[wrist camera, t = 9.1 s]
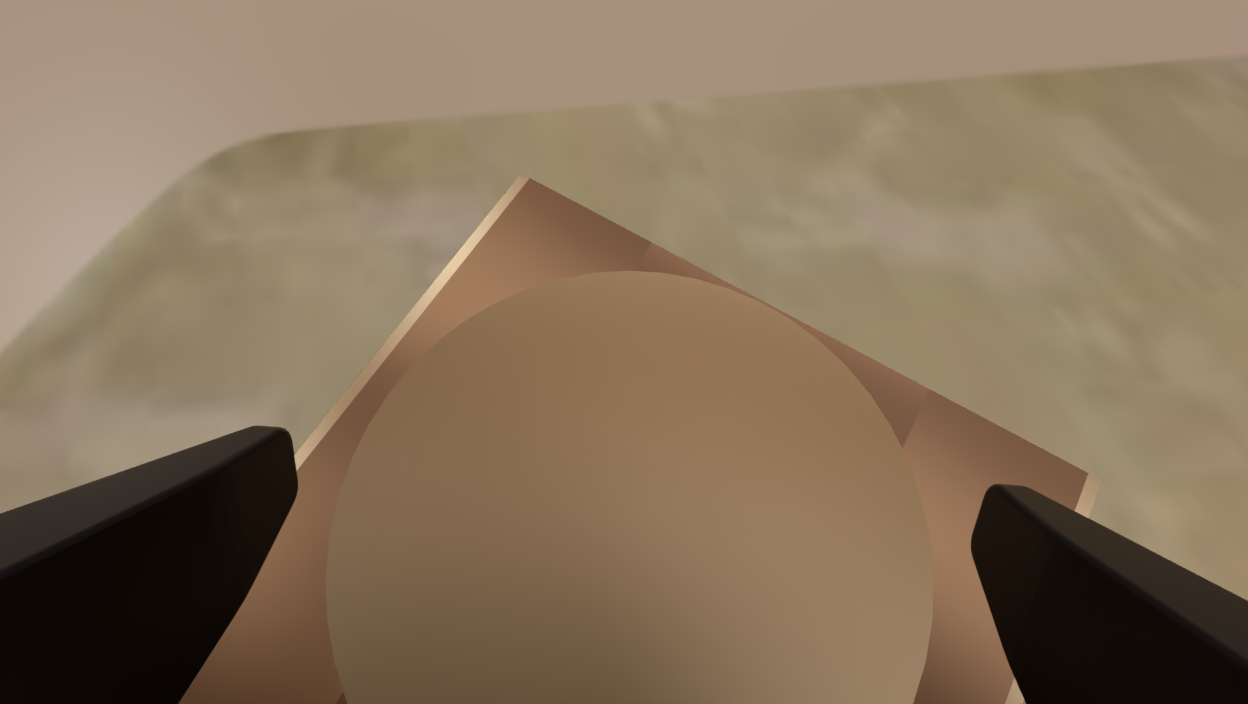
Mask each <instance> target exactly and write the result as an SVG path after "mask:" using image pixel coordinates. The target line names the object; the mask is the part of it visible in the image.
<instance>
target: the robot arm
mask: <svg viewBox="0 0 1248 704" xmlns="http://www.w3.org/2000/svg"><path fill="white" fill-rule="evenodd" d="M297 492H298V477H297V470H296V464H295V457H294V450H293V443H292V439H291V436H290V434H289V432H288V431H287V430H286V429H284V428H281V427H269V426H251V427H248V428H245V429H243V430H240V431H237V432H234V433H231V434H228V435H225V436H222V437H220V438H217V439H214V440H211V441H208V442H205V443H202V444H199V445H197V446H194V447H191V448H188V449H185V450H182V451H179V452H176V453H173V454H171V455H168V456H165V457H162V458H159V459H156V460H153V461H150V462H148V463H145V464H142V465H139V466H136V467H133V468H130V469H127V470H125V471H122V472H119V473H116V474H113V475H110V476H107V477H104V478H101V479H99V480H96V481H93V482H90V483H87V484H84V485H81V486H78V487H76V488H73V489H70V490H67V491H64V492H61V493H58V494H55V495H53V496H50V497H47V498H44V499H41V500H38V501H35V502H32V503H29V504H27V505H24V506H21V507H18V508H15V509H12V510H9V511H6V512H4V513H1V514H0V704H179V702H180V701H181V699H182V698H183V696H184V695H185V693H186V691H187V690H188V688H189V687H190V685H191V684H192V682H193V681H194V679H195V677H196V676H197V674H198V673H199V671H200V670H201V668H202V667H203V665H204V663H205V662H206V660H207V659H208V657H209V656H210V654H211V653H212V651H213V649H214V648H215V646H216V645H217V643H218V642H219V640H220V639H221V637H222V635H223V634H224V632H225V631H226V629H227V628H228V626H229V625H230V623H231V621H232V620H233V618H234V617H235V615H236V613H237V612H238V610H239V608H240V607H241V605H242V604H243V602H244V600H245V598H246V597H247V595H248V593H249V591H250V589H251V587H252V586H253V584H254V582H255V580H256V578H257V576H258V574H259V572H260V570H261V568H262V566H263V564H264V562H265V560H266V558H267V556H268V554H269V552H270V550H271V548H272V546H273V544H274V542H275V540H276V538H277V536H278V534H279V532H280V530H281V528H282V526H283V524H284V522H285V520H286V518H287V516H288V514H289V512H290V510H291V508H292V506H293V504H294V502H295V499H296V496H297ZM971 553H972V558H973V561H974V564H975V567H976V570H977V573H978V576H979V579H980V582H981V585H982V588H983V591H984V594H985V597H986V600H987V603H988V606H989V609H990V611H991V614H992V617H993V620H994V623H995V626H996V629H997V632H998V635H999V638H1000V641H1001V644H1002V647H1003V650H1004V653H1005V655H1006V658H1007V661H1008V663H1009V666H1010V668H1011V671H1012V673H1013V675H1014V678H1015V680H1016V682H1017V685H1018V687H1019V689H1020V691H1021V693H1022V696H1023V698H1024V700H1025V702H1026V704H1248V601H1247V600H1245V599H1243V598H1241V597H1239V596H1237V595H1235V594H1233V593H1231V592H1229V591H1228V590H1226V589H1224V588H1222V587H1220V586H1218V585H1216V584H1214V583H1212V582H1210V581H1208V580H1206V579H1204V578H1203V577H1201V576H1199V575H1197V574H1195V573H1193V572H1191V571H1189V570H1187V569H1185V568H1183V567H1181V566H1179V565H1177V564H1176V563H1174V562H1172V561H1170V560H1168V559H1166V558H1164V557H1162V556H1160V555H1158V554H1156V553H1154V552H1152V551H1150V550H1149V549H1147V548H1145V547H1143V546H1141V545H1139V544H1137V543H1135V542H1133V541H1131V540H1129V539H1127V538H1125V537H1124V536H1122V535H1120V534H1118V533H1116V532H1114V531H1112V530H1110V529H1108V528H1106V527H1104V526H1102V525H1100V524H1098V523H1097V522H1095V521H1093V520H1091V519H1089V518H1087V517H1085V516H1083V515H1081V514H1079V513H1077V512H1075V511H1073V510H1071V509H1070V508H1068V507H1066V506H1064V505H1062V504H1060V503H1058V502H1056V501H1054V500H1052V499H1050V498H1048V497H1046V496H1045V495H1043V494H1041V493H1039V492H1037V491H1035V490H1033V489H1031V488H1029V487H1026V486H1022V485H1010V484H993V485H992V486H990V487H989V488H988V489H987V490H986V492H985V495H984V497H983V501H982V504H981V507H980V510H979V513H978V517H977V520H976V523H975V526H974V529H973V533H972V537H971Z"/></svg>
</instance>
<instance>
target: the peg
mask: <svg viewBox="0 0 1248 704" xmlns="http://www.w3.org/2000/svg"><path fill="white" fill-rule="evenodd" d="M933 587H934V574H933V564H932V554H931V543H930V535H929V530H928V526H927V521H926V517H925V513H924V508H923V504H922V499H921V495H920V493H919V490H918V487H917V484H916V482H915V479H914V476H913V473H912V470H911V468H910V465H909V462H908V459H907V457H906V455H905V453H904V451H903V449H902V447H901V445H900V443H899V441H898V439H897V437H896V435H895V433H894V431H893V429H892V427H891V425H890V424H889V422H888V421H887V419H886V418H885V416H884V415H883V413H882V412H881V410H880V409H879V407H878V405H877V404H876V402H875V401H874V399H873V398H872V396H871V395H870V393H869V392H868V391H867V390H866V389H865V387H864V386H863V385H862V384H861V383H860V382H859V380H858V379H857V378H856V377H855V376H854V374H853V373H852V372H851V371H850V370H849V368H848V367H847V366H846V365H845V364H844V363H843V362H842V361H841V360H840V359H839V358H838V357H836V356H835V355H834V354H833V353H832V352H831V351H830V350H829V349H828V348H827V347H826V346H825V345H824V344H823V343H822V342H820V341H819V340H818V339H817V338H815V337H814V336H813V335H811V334H810V333H809V332H807V331H806V330H804V329H803V328H802V327H800V326H799V325H798V324H796V323H795V322H794V321H792V320H791V319H789V318H788V317H786V316H784V315H782V314H781V313H779V312H777V311H775V310H774V309H772V308H770V307H768V306H767V305H765V304H763V303H761V302H759V301H757V300H755V299H752V298H750V297H748V296H745V295H743V294H741V293H738V292H736V291H734V290H731V289H729V288H726V287H722V286H719V285H716V284H712V283H709V282H706V281H702V280H699V279H695V278H690V277H684V276H678V275H672V274H667V273H658V272H641V271H617V272H599V273H591V274H585V275H579V276H574V277H568V278H562V279H559V280H555V281H552V282H549V283H545V284H542V285H538V286H535V287H532V288H529V289H526V290H524V291H522V292H519V293H517V294H515V295H512V296H510V297H508V298H505V299H503V300H501V301H498V302H496V303H495V304H493V305H491V306H489V307H488V308H486V309H484V310H482V311H481V312H479V313H477V314H475V315H474V316H472V317H470V318H468V319H467V320H466V321H464V322H463V323H461V324H460V325H459V326H457V327H456V328H455V329H453V330H452V331H451V332H449V333H448V334H447V335H445V336H444V337H443V338H441V339H440V340H439V341H438V342H436V343H435V344H434V345H433V346H432V347H431V348H430V349H429V350H428V351H427V352H426V353H425V354H424V355H423V356H422V357H421V358H419V359H418V360H417V361H416V362H415V363H414V364H413V365H412V366H411V367H410V369H409V370H408V371H407V372H406V373H405V375H404V376H403V377H402V378H401V379H400V381H399V382H398V383H397V384H396V385H395V387H394V388H393V389H392V390H391V391H390V393H389V394H388V395H387V397H386V398H385V400H384V401H383V403H382V405H381V406H380V408H379V409H378V411H377V412H376V414H375V415H374V417H373V418H372V420H371V421H370V423H369V424H368V426H367V428H366V430H365V432H364V434H363V436H362V438H361V440H360V442H359V445H358V447H357V449H356V451H355V453H354V455H353V457H352V459H351V461H350V464H349V467H348V470H347V473H346V475H345V478H344V481H343V484H342V487H341V490H340V493H339V495H338V499H337V504H336V508H335V513H334V518H333V522H332V527H331V531H330V536H329V547H328V558H327V569H326V599H327V621H328V627H329V633H330V639H331V645H332V651H333V657H334V662H335V666H336V669H337V672H338V675H339V679H340V682H341V685H342V688H343V692H344V695H345V698H346V701H347V704H913V703H914V699H915V696H916V693H917V689H918V686H919V683H920V679H921V676H922V673H923V669H924V666H925V663H926V657H927V651H928V645H929V638H930V632H931V626H932V620H933Z"/></svg>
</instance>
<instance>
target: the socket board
mask: <svg viewBox="0 0 1248 704" xmlns="http://www.w3.org/2000/svg"><path fill="white" fill-rule="evenodd" d="M617 271H641V272H658V273H667V274H672V275H678V276H684V277H690V278H695V279H699V280H702V281H706V282H709V283H712V284H716V285H719V286H722V287H726V288H729V289H731V290H734V291H736V292H738V293H741V294H743V295H745V296H748V297H750V298H752V299H755V300H757V301H759V302H761V303H763V304H765V305H767V306H768V307H770V308H772V309H774V310H775V311H777V312H779V313H781V314H782V315H784V316H786V317H788V318H789V319H791V320H792V321H794V322H795V323H796V324H798V325H799V326H800V327H802V328H803V329H804V330H806V331H807V332H809V333H810V334H811V335H813V336H814V337H815V338H817V339H818V340H819V341H820V342H822V343H823V344H824V345H825V346H826V347H827V348H828V349H829V350H830V351H831V352H832V353H833V354H834V355H835V356H836V357H838V358H839V359H840V360H841V361H842V362H843V363H844V364H845V365H846V366H847V367H848V368H849V370H850V371H851V372H852V373H853V374H854V376H855V377H856V378H857V379H858V380H859V382H860V383H861V384H862V385H863V386H864V387H865V389H866V390H867V391H868V392H869V393H870V395H871V396H872V398H873V399H874V401H875V402H876V404H877V405H878V407H879V409H880V410H881V412H882V413H883V415H884V416H885V418H886V419H887V421H888V422H889V424H890V425H891V427H892V429H893V431H894V433H895V435H896V437H897V439H898V441H899V443H900V445H901V447H902V449H903V451H904V453H905V455H906V457H907V459H908V462H909V465H910V468H911V470H912V473H913V476H914V479H915V482H916V484H917V487H918V490H919V493H920V495H921V499H922V504H923V508H924V513H925V517H926V521H927V526H928V530H929V535H930V543H931V554H932V564H933V574H934V587H933V620H932V626H931V632H930V638H929V645H928V651H927V657H926V663H925V666H924V669H923V673H922V676H921V679H920V683H919V686H918V689H917V693H916V696H915V699H914V703H913V704H1023V702H1024V698H1023V696H1022V693H1021V691H1020V689H1019V687H1018V685H1017V682H1016V680H1015V678H1014V675H1013V673H1012V671H1011V668H1010V666H1009V663H1008V661H1007V658H1006V655H1005V653H1004V650H1003V647H1002V644H1001V641H1000V638H999V635H998V632H997V629H996V626H995V623H994V620H993V617H992V614H991V611H990V609H989V606H988V603H987V600H986V597H985V594H984V591H983V588H982V585H981V582H980V579H979V576H978V573H977V570H976V567H975V564H974V561H973V558H972V553H971V537H972V533H973V529H974V526H975V523H976V520H977V517H978V513H979V510H980V507H981V504H982V501H983V497H984V495H985V492H986V490H987V489H988V488H989V487H990V486H992V485H993V484H1010V485H1022V486H1026V487H1029V488H1031V489H1033V490H1035V491H1037V492H1039V493H1041V494H1043V495H1045V496H1046V497H1048V498H1050V499H1052V500H1054V501H1056V502H1058V503H1060V504H1062V505H1064V506H1066V507H1068V508H1070V509H1071V510H1073V511H1075V512H1077V513H1079V514H1081V515H1083V516H1085V517H1087V518H1089V515H1090V512H1091V509H1092V506H1093V504H1094V501H1095V498H1096V495H1097V492H1098V489H1099V487H1100V484H1101V482H1100V481H1098V480H1096V479H1095V478H1093V477H1091V476H1089V475H1088V473H1087V472H1085V471H1083V470H1081V469H1079V468H1077V467H1076V466H1074V465H1072V464H1070V463H1068V462H1066V461H1064V460H1062V459H1060V458H1059V457H1057V456H1055V455H1053V454H1051V453H1049V452H1047V451H1045V450H1043V449H1042V448H1040V447H1038V446H1036V445H1034V444H1032V443H1030V442H1028V441H1026V440H1024V439H1023V438H1021V437H1019V436H1017V435H1015V434H1013V433H1011V432H1009V431H1007V430H1006V429H1004V428H1002V427H1000V426H998V425H996V424H994V423H992V422H990V421H989V420H987V419H985V418H983V417H981V416H979V415H977V414H975V413H973V412H971V411H970V410H968V409H966V408H964V407H962V406H960V405H958V404H956V403H954V402H953V401H951V400H949V399H947V398H945V397H943V396H941V395H939V394H937V393H936V392H934V391H932V390H930V389H928V388H926V387H924V386H922V385H920V384H918V383H917V382H915V381H913V380H911V379H909V378H907V377H905V376H903V375H901V374H900V373H898V372H896V371H894V370H892V369H890V368H888V367H886V366H884V365H883V364H881V363H879V362H877V361H875V360H873V359H871V358H869V357H867V356H866V355H864V354H862V353H860V352H858V351H856V350H854V349H852V348H850V347H848V346H847V345H845V344H843V343H841V342H839V341H837V340H835V339H833V338H831V337H830V336H828V335H826V334H824V333H822V332H820V331H818V330H816V329H814V328H813V327H811V326H809V325H807V324H805V323H803V322H801V321H799V320H797V319H795V318H794V317H792V316H790V315H788V314H786V313H784V312H782V311H780V310H778V309H777V308H775V307H773V306H771V305H769V304H767V303H765V302H763V301H761V300H760V299H758V298H756V297H754V296H752V295H750V294H748V293H746V292H744V291H742V290H741V289H739V288H737V287H735V286H733V285H731V284H729V283H727V282H725V281H724V280H722V279H720V278H718V277H716V276H714V275H712V274H710V273H708V272H707V271H705V270H703V269H701V268H699V267H697V266H695V265H693V264H691V263H689V262H688V261H686V260H684V259H682V258H680V257H678V256H676V255H674V254H672V253H671V252H669V251H667V250H665V249H663V248H661V247H659V246H657V245H655V244H654V243H652V242H650V241H648V240H646V239H644V238H642V237H640V236H638V235H636V234H635V233H633V232H631V231H629V230H627V229H625V228H623V227H621V226H619V225H618V224H616V223H614V222H612V221H610V220H608V219H606V218H604V217H602V216H601V215H599V214H597V213H595V212H593V211H591V210H589V209H587V208H585V207H583V206H582V205H580V204H578V203H576V202H574V201H572V200H570V199H568V198H566V197H565V196H563V195H561V194H559V193H557V192H555V191H553V190H551V189H549V188H548V187H546V186H544V185H542V184H540V183H538V182H536V181H534V180H532V179H530V178H529V179H527V178H525V177H524V176H522V175H519V177H518V178H517V179H516V180H515V182H514V183H513V184H512V185H511V187H510V188H509V189H508V190H507V192H506V193H505V194H504V195H503V197H502V198H501V199H500V200H499V202H498V203H497V204H496V205H495V207H494V208H493V209H492V210H491V212H490V213H489V214H488V215H487V216H486V218H485V219H484V220H483V221H482V223H481V224H480V225H479V226H478V228H477V229H476V230H475V231H474V233H473V234H472V235H471V236H470V238H469V239H468V240H467V241H466V243H465V244H464V245H463V246H462V248H461V249H460V250H459V251H458V253H457V254H456V255H455V256H454V258H453V259H452V260H451V261H450V262H449V264H448V265H447V266H446V267H445V269H444V270H443V271H442V272H441V274H440V275H439V276H438V277H437V279H436V280H435V281H434V282H433V284H432V285H431V286H430V287H429V289H428V290H427V291H426V292H425V294H424V295H423V296H422V297H421V299H420V300H419V301H418V302H417V304H416V305H415V306H414V307H413V308H412V310H411V311H410V312H409V313H408V315H407V316H406V317H405V318H404V320H403V321H402V322H401V323H400V325H399V326H398V327H397V328H396V330H395V331H394V332H393V333H392V335H391V336H390V337H389V338H388V340H387V341H386V342H385V343H384V345H383V346H382V347H381V348H380V349H379V351H378V352H377V353H376V354H375V356H374V357H373V358H372V359H371V361H370V362H369V363H368V364H367V366H366V367H365V368H364V369H363V371H362V372H361V373H360V374H359V376H358V377H357V378H356V379H355V381H354V382H353V383H352V384H351V386H350V387H349V388H348V389H347V391H346V392H345V393H344V394H343V395H342V397H341V398H340V399H339V400H338V402H337V403H336V404H335V405H334V407H333V408H332V409H331V410H330V412H329V413H328V414H327V415H326V417H325V418H324V419H323V420H322V422H321V423H320V424H319V425H318V427H317V428H316V429H315V430H314V432H313V433H312V434H311V435H310V436H309V438H308V439H307V440H306V441H305V443H304V444H303V445H302V446H301V448H300V449H299V450H298V451H297V453H296V454H295V455H294V457H295V464H296V470H297V477H298V492H297V496H296V499H295V502H294V504H293V506H292V508H291V510H290V512H289V514H288V516H287V518H286V520H285V522H284V524H283V526H282V528H281V530H280V532H279V534H278V536H277V538H276V540H275V542H274V544H273V546H272V548H271V550H270V552H269V554H268V556H267V558H266V560H265V562H264V564H263V566H262V568H261V570H260V572H259V574H258V576H257V578H256V580H255V582H254V584H253V586H252V587H251V589H250V591H249V593H248V595H247V597H246V598H245V600H244V602H243V604H242V605H241V607H240V608H239V610H238V612H237V613H236V615H235V617H234V618H233V620H232V621H231V623H230V625H229V626H228V628H227V629H226V631H225V632H224V634H223V635H222V637H221V639H220V640H219V642H218V643H217V645H216V646H215V648H214V649H213V651H212V653H211V654H210V656H209V657H208V659H207V660H206V662H205V663H204V665H203V667H202V668H201V670H200V671H199V673H198V674H197V676H196V677H195V679H194V681H193V682H192V684H191V685H190V687H189V688H188V690H187V691H186V693H185V695H184V696H183V698H182V699H181V701H180V702H179V704H347V701H346V698H345V695H344V692H343V688H342V685H341V682H340V679H339V675H338V672H337V669H336V666H335V662H334V657H333V651H332V645H331V639H330V633H329V627H328V621H327V599H326V569H327V558H328V547H329V536H330V531H331V527H332V522H333V518H334V513H335V508H336V504H337V499H338V495H339V493H340V490H341V487H342V484H343V481H344V478H345V475H346V473H347V470H348V467H349V464H350V461H351V459H352V457H353V455H354V453H355V451H356V449H357V447H358V445H359V442H360V440H361V438H362V436H363V434H364V432H365V430H366V428H367V426H368V424H369V423H370V421H371V420H372V418H373V417H374V415H375V414H376V412H377V411H378V409H379V408H380V406H381V405H382V403H383V401H384V400H385V398H386V397H387V395H388V394H389V393H390V391H391V390H392V389H393V388H394V387H395V385H396V384H397V383H398V382H399V381H400V379H401V378H402V377H403V376H404V375H405V373H406V372H407V371H408V370H409V369H410V367H411V366H412V365H413V364H414V363H415V362H416V361H417V360H418V359H419V358H421V357H422V356H423V355H424V354H425V353H426V352H427V351H428V350H429V349H430V348H431V347H432V346H433V345H434V344H435V343H436V342H438V341H439V340H440V339H441V338H443V337H444V336H445V335H447V334H448V333H449V332H451V331H452V330H453V329H455V328H456V327H457V326H459V325H460V324H461V323H463V322H464V321H466V320H467V319H468V318H470V317H472V316H474V315H475V314H477V313H479V312H481V311H482V310H484V309H486V308H488V307H489V306H491V305H493V304H495V303H496V302H498V301H501V300H503V299H505V298H508V297H510V296H512V295H515V294H517V293H519V292H522V291H524V290H526V289H529V288H532V287H535V286H538V285H542V284H545V283H549V282H552V281H555V280H559V279H562V278H568V277H574V276H579V275H585V274H591V273H599V272H617Z"/></svg>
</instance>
